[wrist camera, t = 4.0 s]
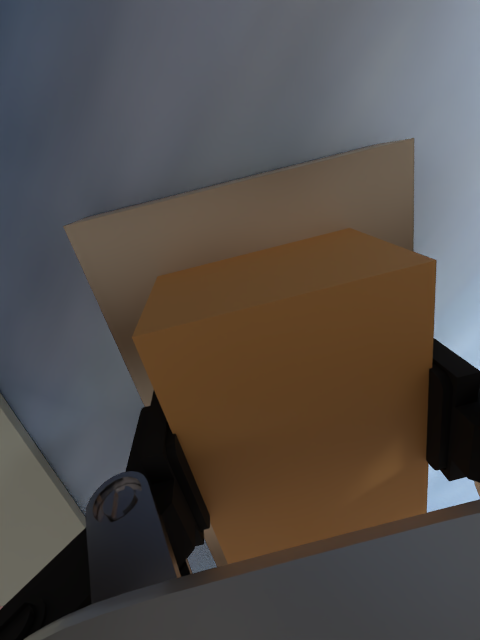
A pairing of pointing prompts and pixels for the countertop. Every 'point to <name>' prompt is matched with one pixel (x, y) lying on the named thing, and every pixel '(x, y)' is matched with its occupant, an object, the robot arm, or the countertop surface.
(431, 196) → the countertop surface
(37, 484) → the mat
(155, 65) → the countertop surface
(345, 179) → the peg base
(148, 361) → the link
